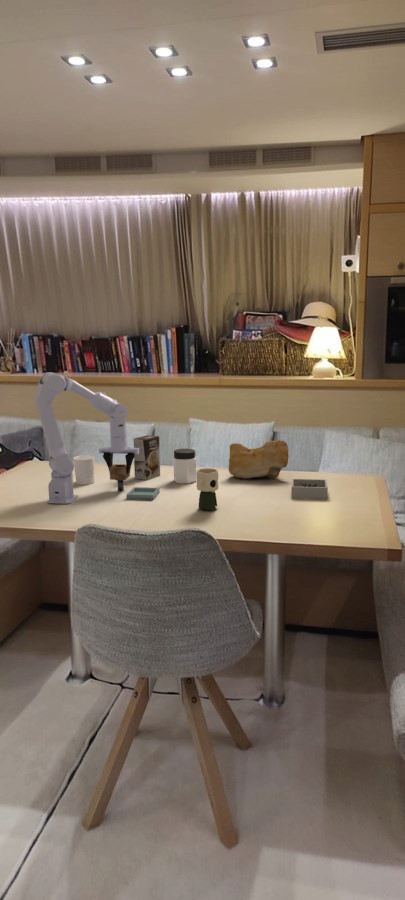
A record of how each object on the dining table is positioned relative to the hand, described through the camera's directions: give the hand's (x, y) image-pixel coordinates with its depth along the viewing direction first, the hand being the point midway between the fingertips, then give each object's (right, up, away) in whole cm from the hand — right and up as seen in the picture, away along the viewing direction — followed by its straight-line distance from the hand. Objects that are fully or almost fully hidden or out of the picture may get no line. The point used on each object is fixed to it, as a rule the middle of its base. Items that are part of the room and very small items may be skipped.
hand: (119, 472), depth 226 cm
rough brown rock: (+53, -2, +20) cm, 56 cm away
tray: (+9, -8, -6) cm, 13 cm away
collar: (0, -2, 0) cm, 2 cm away
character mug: (+32, -11, -22) cm, 40 cm away
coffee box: (+8, -3, +21) cm, 23 cm away
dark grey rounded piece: (0, -7, +1) cm, 7 cm away
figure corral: (+68, -7, -7) cm, 68 cm away
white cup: (-15, -4, +14) cm, 21 cm away
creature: (+68, -7, -6) cm, 69 cm away
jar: (+23, -4, +14) cm, 27 cm away
